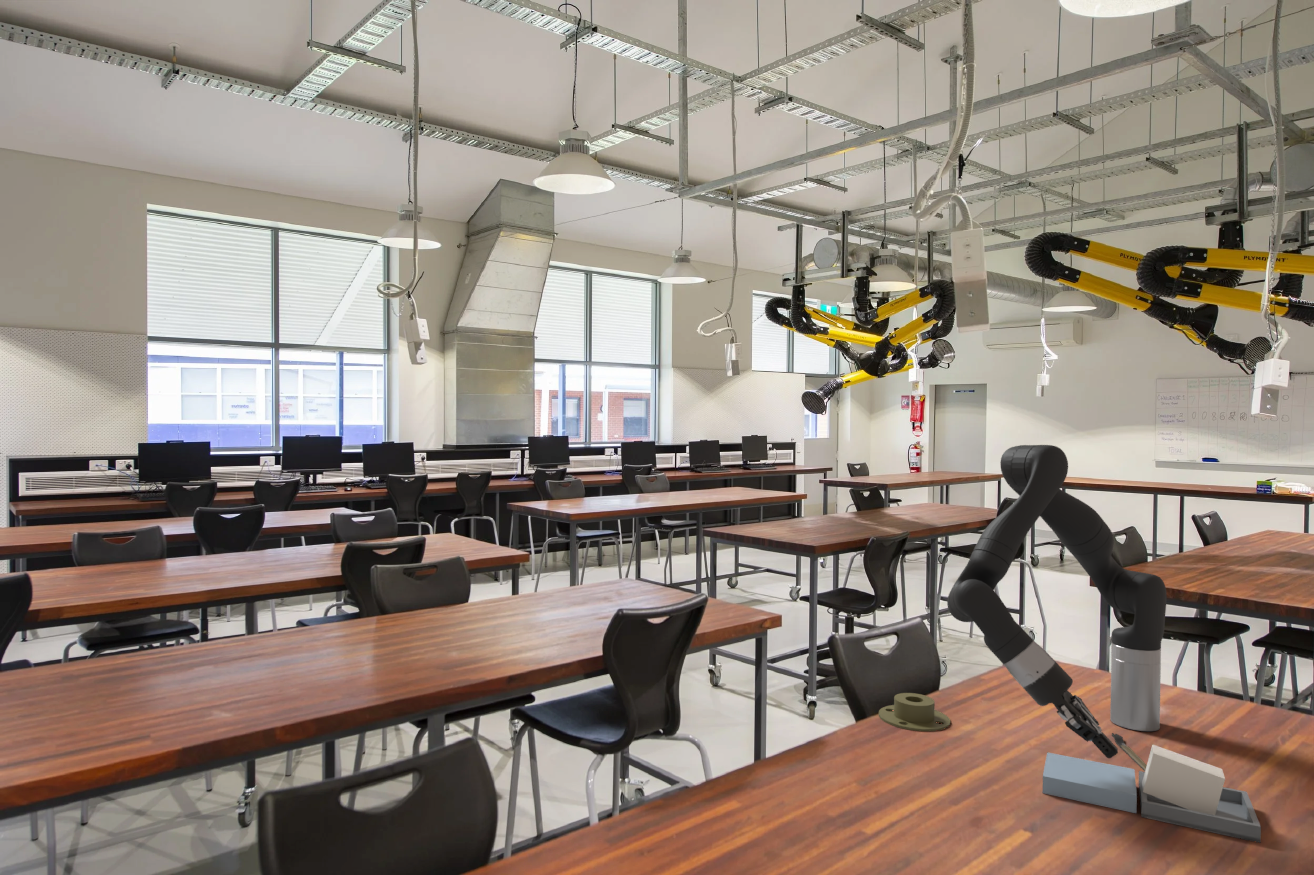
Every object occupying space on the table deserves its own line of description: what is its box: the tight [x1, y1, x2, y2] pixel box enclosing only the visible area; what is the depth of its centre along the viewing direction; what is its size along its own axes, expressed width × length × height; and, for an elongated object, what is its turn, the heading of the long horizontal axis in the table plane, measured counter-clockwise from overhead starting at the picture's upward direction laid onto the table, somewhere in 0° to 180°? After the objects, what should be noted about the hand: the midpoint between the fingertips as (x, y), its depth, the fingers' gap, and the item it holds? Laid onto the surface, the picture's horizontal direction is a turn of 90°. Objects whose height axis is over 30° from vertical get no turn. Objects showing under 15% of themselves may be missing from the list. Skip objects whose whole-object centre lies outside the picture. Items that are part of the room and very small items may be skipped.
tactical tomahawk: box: [1111, 732, 1147, 772], centre depth 152 cm, size 21×7×1 cm, turn 166°
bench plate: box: [1042, 751, 1138, 814], centre depth 138 cm, size 12×14×3 cm
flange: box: [878, 692, 951, 732], centre depth 172 cm, size 5×15×15 cm
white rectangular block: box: [1142, 744, 1226, 815], centre depth 131 cm, size 4×10×7 cm, turn 59°
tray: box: [1138, 770, 1262, 844], centre depth 130 cm, size 14×16×2 cm
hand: (1113, 754), depth 136 cm, fingers closed
